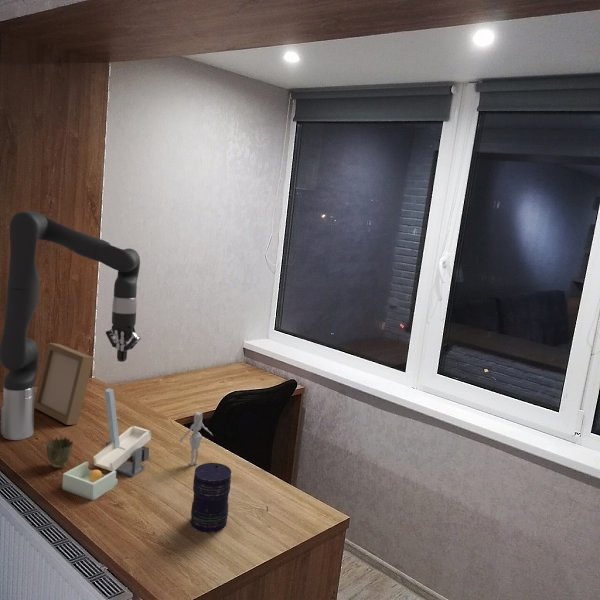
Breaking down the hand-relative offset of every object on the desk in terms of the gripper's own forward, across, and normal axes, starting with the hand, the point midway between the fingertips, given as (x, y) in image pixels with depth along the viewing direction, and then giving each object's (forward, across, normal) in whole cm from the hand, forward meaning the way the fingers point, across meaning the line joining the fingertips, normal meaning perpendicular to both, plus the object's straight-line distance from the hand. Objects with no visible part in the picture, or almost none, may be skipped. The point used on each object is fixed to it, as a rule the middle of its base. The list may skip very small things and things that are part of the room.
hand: (121, 360), depth 187 cm
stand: (+29, +13, -10) cm, 33 cm away
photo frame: (+29, -31, +9) cm, 44 cm away
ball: (+26, +13, -25) cm, 39 cm away
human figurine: (+29, +30, +1) cm, 42 cm away
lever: (+23, +13, -13) cm, 29 cm away
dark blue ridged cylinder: (+29, +51, -24) cm, 63 cm away
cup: (+29, -3, -23) cm, 37 cm away
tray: (+29, +13, -27) cm, 42 cm away
